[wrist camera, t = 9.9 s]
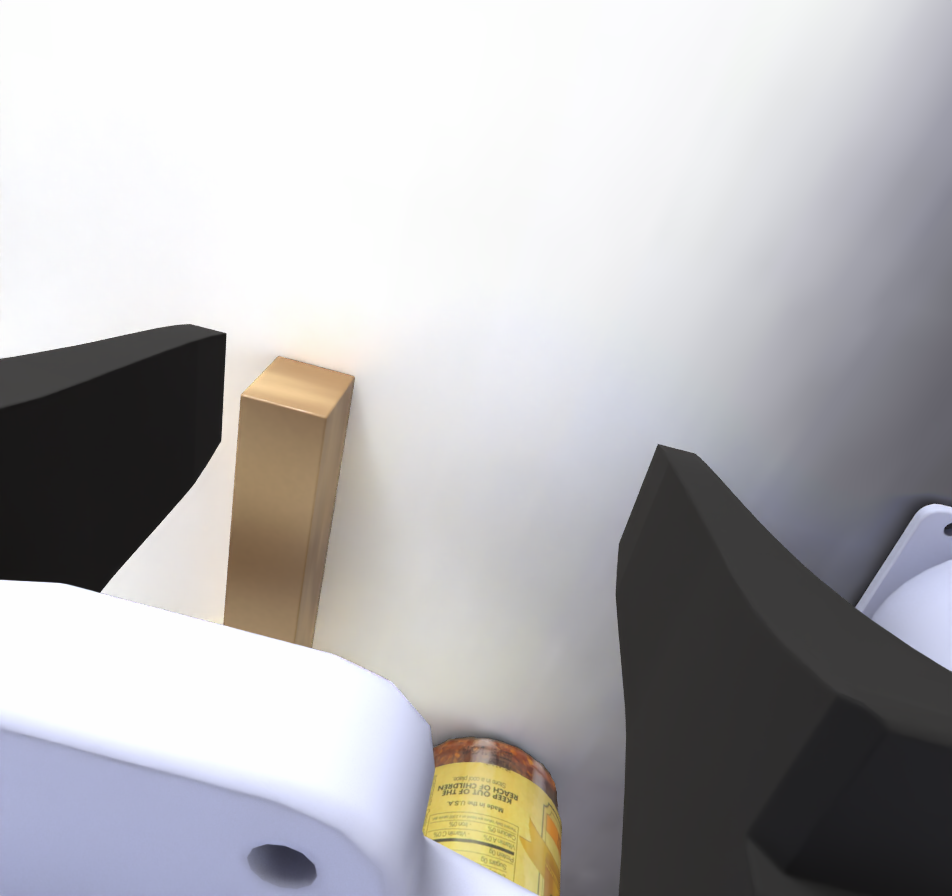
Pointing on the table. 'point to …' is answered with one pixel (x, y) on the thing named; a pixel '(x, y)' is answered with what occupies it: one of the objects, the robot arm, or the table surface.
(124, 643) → the robot arm
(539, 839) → the sauce bottle
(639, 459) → the table surface
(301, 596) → the tan upright bar
